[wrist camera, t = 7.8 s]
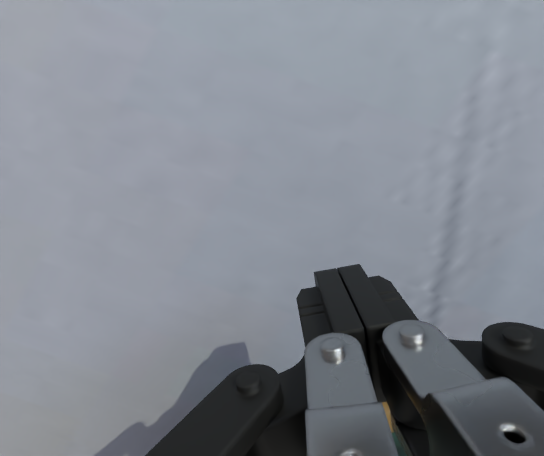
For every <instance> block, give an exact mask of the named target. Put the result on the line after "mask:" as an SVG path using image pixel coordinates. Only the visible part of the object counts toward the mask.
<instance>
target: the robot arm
mask: <svg viewBox="0 0 544 456" xmlns="http://www.w3.org/2000/svg"><path fill="white" fill-rule="evenodd" d="M314 277H315V284H316V287H312V288H306V289H301V291H300V293H299V295H298V297H297V304H298V309H299V315H300V321H301V326H302V332H303V337H304V343H305V354H304V356H303V358H302V359H301V361H300V362H299V363H298V364H296V365H295V366H294V367H292V368H290V369H288V370H286V371H284V372H282V373H280V374H278V373H277V372H276V371H275V370H274V369H273V368H271V367H269V366H266V365H260V364H254V365H248V366H244V367H241V368H239V369H237V370H235V371H234V372H232V373H231V374H229V375H228V376H227V377H226V378H225V379H224V380H223V381H222V382H221V383H220V384H219V385H218V386H217V387H216V388H215V389H214V390H213V391H212V392H211V393H210V394H208V395H207V396H206V397H205V398H204V399H203V400H202V401H201V402H200V403H199V404H198V405H197V406H196V407H195V408H194V409H193V410H192V411H191V412H190V413H189V414H188V415H187V416H186V417H185V418H184V419H183V420H182V421H181V422H179V423H178V424H177V425H176V426H175V427H174V428H173V429H172V430H171V431H170V432H169V433H168V434H167V435H166V436H165V437H164V438H163V439H162V440H161V441H160V442H159V443H158V444H157V445H156V446H155V447H154V448H153V449H152V450H150V451H149V452H148V453H147V454H146V455H145V456H399V455H398V452H397V449H396V446H395V442H394V439H393V436H392V432H391V429H390V426H389V423H388V419H387V416H386V413H385V410H384V407H383V404H382V402H387V404H388V406H389V409H390V417H391V425H392V428H393V431H394V433H395V435H396V437H397V439H398V441H399V443H400V445H401V447H402V449H403V450H404V452H405V454H406V456H544V329H541V328H537V327H534V326H530V325H526V324H522V323H514V322H503V323H496V324H493V325H490V326H488V327H487V328H486V329H484V331H483V333H482V341H459V340H451V339H447V338H446V337H445V335H444V334H443V333H442V332H441V331H440V330H439V329H438V328H436V327H435V326H433V325H431V324H429V323H426V322H423V321H419V320H418V319H417V317H416V316H415V315H414V313H413V312H412V310H411V309H410V308H409V306H408V305H407V304H406V302H405V301H404V299H402V297H401V295H400V294H399V293H398V292H397V290H396V289H395V287H394V286H393V284H392V283H391V282H390V281H388V280H386V279H384V278H382V277H380V276H374V277H367V275H366V273H365V272H364V270H363V269H362V267H361V265H360V264H357V265H351V266H345V267H340V268H337V269H336V268H335V269H329V270H323V271H318V272H314Z"/></svg>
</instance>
